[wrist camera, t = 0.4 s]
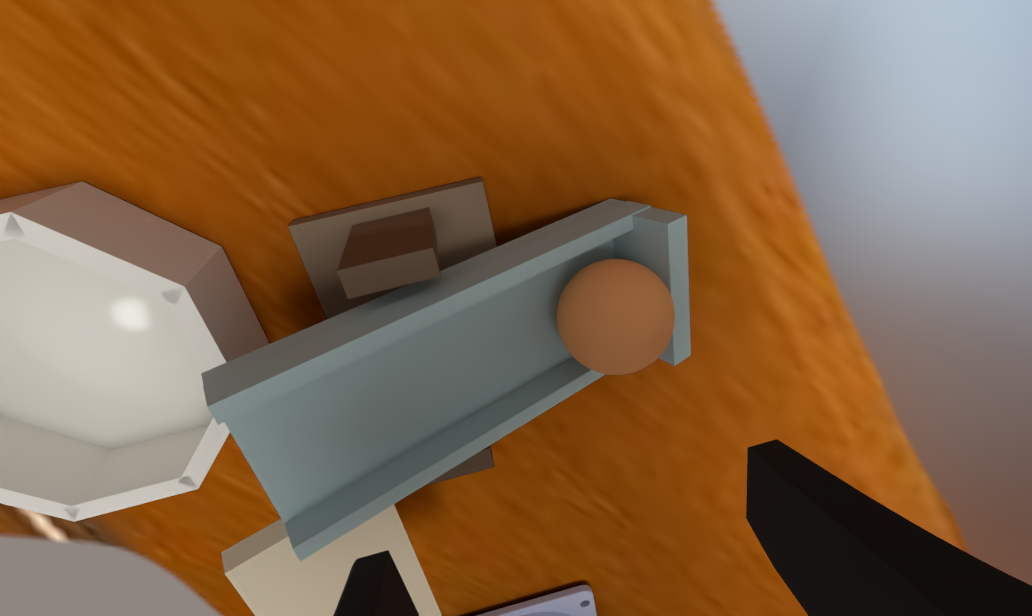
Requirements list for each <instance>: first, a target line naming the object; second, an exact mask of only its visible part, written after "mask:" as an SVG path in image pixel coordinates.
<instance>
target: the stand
mask: <svg viewBox="0 0 1032 616" xmlns="http://www.w3.org/2000/svg"><path fill="white" fill-rule="evenodd" d="M288 227H289V230H290V232H291V235H292V237H293V239H294V242H295V244H296V246H297V249H298V251H299V254H300V256H301V258H302V261H303V263H304V266H305V268H306V270H307V273H308V275H309V278H310V280H311V282H312V285H313V287H314V290H315V292H316V294H317V297H318V299H319V302H320V304H321V306H322V309H323V311H324V314H325V316H326V318H327V319H329V318H332V317H334V316H337V315H339V314H341V313H344V312H346V311H348V310H351V309H353V308H355V307H358V306H360V305H362V304H365V303H367V302H369V301H372V300H374V299H376V298H379V297H381V296H383V295H386V294H388V293H390V292H393V291H395V290H397V289H400V288H402V287H404V286H407V285H409V284H411V283H415V282H419V281H424V280H428V279H432V278H436V277H440V276H441V274H440V271H442V270H444V269H447V268H449V267H451V266H454V265H456V264H458V263H461V262H463V261H465V260H468V259H470V258H472V257H475V256H477V255H479V254H482V253H484V252H486V251H489V250H491V249H493V248H496V247H497V244H496V239H495V235H494V230H493V226H492V221H491V216H490V212H489V207H488V203H487V198H486V193H485V189H484V184H483V181H482V179H481V177H478V178H474V179H469V180H465V181H461V182H456V183H452V184H448V185H443V186H439V187H435V188H430V189H426V190H422V191H417V192H413V193H409V194H405V195H400V196H396V197H392V198H387V199H383V200H379V201H374V202H370V203H366V204H361V205H357V206H353V207H348V208H344V209H340V210H336V211H331V212H327V213H323V214H318V215H314V216H310V217H305V218H301V219H297V220H292V222H291V223H290V225H289V226H288ZM492 467H495V466H494V461H493V456H492V451H491V445H490V446H488V447H486V448H485V449H483V450H481V451H480V452H478V453H476V454H475V455H473V456H472V457H470V458H468V459H467V460H465V461H463V462H462V463H460V464H459V465H457V466H455V467H454V468H452V469H450V470H449V471H447V472H446V473H444V474H442V475H441V476H439V477H437V478H436V479H434V480H432V481H431V482H429V483H428V484H426V485H429V484H433V483H437V482H440V481H444V480H448V479H451V478H455V477H459V476H462V475H466V474H470V473H474V472H477V471H481V470H485V469H488V468H492ZM424 486H425V485H424Z"/></svg>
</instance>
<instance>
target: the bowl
mask: <svg viewBox="0 0 1032 616" xmlns="http://www.w3.org/2000/svg"><path fill="white" fill-rule="evenodd" d="M266 345H269V342H268V339H267V337H266V335H265V333H264V331H263V329H262V327H261V325H260V323H259V321H258V319H257V317H256V315H255V313H254V311H253V309H252V307H251V305H250V303H249V301H248V299H247V297H246V295H245V293H244V291H243V289H242V287H241V285H240V283H239V280H238V278H237V276H236V274H235V272H234V270H233V268H232V266H231V264H230V262H229V260H228V258H227V256H226V254H225V252H224V250H223V248H222V246H219V245H217V244H215V243H213V242H211V241H209V240H207V239H204V238H202V237H200V236H198V235H196V234H194V233H192V232H189V231H187V230H185V229H183V228H181V227H179V226H177V225H175V224H172V223H170V222H168V221H166V220H164V219H162V218H160V217H157V216H155V215H153V214H151V213H149V212H147V211H145V210H143V209H140V208H138V207H136V206H134V205H132V204H130V203H128V202H125V201H123V200H121V199H119V198H117V197H115V196H113V195H111V194H108V193H106V192H104V191H102V190H100V189H98V188H96V187H93V186H91V185H89V184H87V183H85V182H77V183H73V184H68V185H64V186H59V187H55V188H50V189H46V190H41V191H37V192H32V193H28V194H23V195H19V196H14V197H9V198H5V199H0V503H2V504H6V505H10V506H14V507H18V508H22V509H26V510H30V511H34V512H38V513H42V514H46V515H50V516H54V517H58V518H62V519H66V520H71V521H78V520H82V519H86V518H89V517H93V516H97V515H101V514H105V513H108V512H112V511H116V510H120V509H124V508H127V507H131V506H135V505H139V504H143V503H146V502H150V501H154V500H158V499H162V498H165V497H169V496H173V495H177V494H181V493H185V492H188V491H192V490H196V489H198V488H199V487H200V485H201V483H202V481H203V479H204V478H205V476H206V474H207V472H208V471H209V469H210V467H211V465H212V463H213V462H214V460H215V458H216V456H217V454H218V453H219V451H220V449H221V447H222V445H223V444H224V442H225V440H226V438H227V436H228V435H229V433H230V431H229V429H228V427H227V426H226V424H225V422H223V423H221V424H219V425H218V424H217V422H216V421H215V419H214V417H213V416H212V414H211V412H210V411H209V409H208V407H207V403H206V398H205V393H204V388H203V386H204V385H203V380H202V375H201V373H203V372H205V371H208V370H210V369H212V368H215V367H217V366H219V365H222V364H224V363H226V362H229V361H231V360H233V359H236V358H238V357H241V356H243V355H245V354H248V353H250V352H252V351H255V350H257V349H259V348H262V347H264V346H266Z"/></svg>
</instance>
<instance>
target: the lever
mask: <svg viewBox="0 0 1032 616" xmlns="http://www.w3.org/2000/svg"><path fill="white" fill-rule="evenodd" d="M607 259H624V260H630V261H633V262H636V263H639V264H641V265H643V266H645V267H647V268H648V269H650V270H651V271H652V272H654V273H655V274H656V275H657V276H658V277H659V278H660V279H661V280H662V282H663V283H664V284H665V286H666V287H667V289H668V291H669V293H670V295H671V297H672V301H673V305H674V311H675V324H674V329H673V333H672V336H671V339H670V341H669V343H668V345H667V347H666V348H665V350H664V351H663V353H662V354H661V355H660V356H659V357H658V358H660V359H662V360H663V361H665V362H667V363H669V364H671V365H673V366H675V365H677V364H678V363H680V362H681V361H683V360H684V359H686V358H687V357H689V356H691V346H690V311H689V276H688V241H687V215H685V214H681V213H676V212H671V211H667V210H662V209H658V208H653V207H651V205H646V204H641V203H637V202H632V201H621V200H616V199H611V198H610V199H608V200H606V201H603V202H601V203H599V204H596V205H594V206H592V207H589V208H587V209H585V210H582V211H580V212H578V213H575V214H573V215H571V216H568V217H566V218H564V219H561V220H559V221H557V222H554V223H552V224H550V225H547V226H545V227H543V228H540V229H538V230H536V231H533V232H531V233H529V234H526V235H524V236H521V237H519V238H517V239H514V240H512V241H510V242H507V243H505V244H503V245H500V246H498V247H496V248H493V249H491V250H489V251H486V252H484V253H482V254H479V255H477V256H475V257H472V258H470V259H468V260H465V261H463V262H461V263H458V264H456V265H454V266H451V267H449V268H447V269H444V270H442V271H440V274H441V276H440V277H436V278H432V279H428V280H424V281H419V282H415V283H411V284H409V285H407V286H404V287H402V288H400V289H397V290H395V291H393V292H390V293H388V294H386V295H383V296H381V297H379V298H376V299H374V300H372V301H369V302H367V303H365V304H362V305H360V306H358V307H355V308H353V309H351V310H348V311H346V312H344V313H341V314H339V315H337V316H334V317H332V318H329V319H327V320H325V321H322V322H320V323H318V324H315V325H313V326H311V327H308V328H306V329H304V330H301V331H299V332H297V333H294V334H292V335H290V336H287V337H285V338H283V339H280V340H278V341H276V342H273V343H271V344H269V345H266V346H264V347H262V348H259V349H257V350H255V351H252V352H250V353H248V354H245V355H243V356H241V357H238V358H236V359H233V360H231V361H229V362H226V363H224V364H222V365H219V366H217V367H215V368H212V369H210V370H208V371H205V372H203V373H201V375H202V380H203V385H204V386H203V388H204V393H205V398H206V403H207V407H208V409H209V411H210V412H211V414H212V416H213V417H214V419H215V421H216V422H217V424H218V425H219V424H221V423H223V422H225V424H226V426H227V427H228V429H229V431H230V433H231V434H232V436H233V438H234V439H235V441H236V443H237V444H238V446H239V448H240V449H241V451H242V453H243V454H244V456H245V458H246V460H247V461H248V463H249V465H250V466H251V468H252V470H253V471H254V473H255V475H256V476H257V478H258V480H259V481H260V483H261V485H262V487H263V488H264V490H265V492H266V493H267V495H268V497H269V498H270V500H271V502H272V503H273V505H274V507H275V508H276V510H277V512H278V514H279V515H280V517H281V519H279V520H277V521H276V522H274V523H272V524H270V525H269V526H267V527H265V528H263V529H262V530H260V531H258V532H256V533H255V534H253V535H251V536H249V537H248V538H246V539H244V540H242V541H240V542H239V543H237V544H235V545H233V546H232V547H230V548H228V549H226V550H225V551H223V552H221V555H222V560H223V566H224V572H225V575H226V576H227V578H228V579H229V580H230V582H231V583H232V584H233V586H234V587H235V589H236V590H237V591H238V593H239V594H240V595H241V597H242V598H243V600H244V601H245V602H246V604H247V605H248V607H249V608H250V609H251V611H252V612H253V613H254V615H255V616H333V615H334V613H335V610H336V608H337V605H338V602H339V600H340V597H341V595H342V592H343V589H344V587H345V584H346V581H347V579H348V576H349V573H350V571H351V568H352V565H353V563H354V562H355V561H356V559H358V558H362V557H365V556H369V555H372V554H376V553H379V552H383V551H386V550H389V552H390V554H391V557H392V559H393V561H394V563H395V565H396V567H397V569H398V571H399V573H400V575H401V578H402V580H403V582H404V584H405V586H406V588H407V590H408V592H409V594H410V597H411V599H412V601H413V603H414V605H415V607H416V609H417V611H418V613H419V616H442V615H441V612H440V610H439V608H438V605H437V603H436V601H435V598H434V596H433V594H432V591H431V589H430V587H429V584H428V582H427V580H426V578H425V575H424V573H423V571H422V568H421V566H420V564H419V561H418V559H417V557H416V554H415V552H414V550H413V547H412V545H411V543H410V540H409V538H408V536H407V533H406V531H405V529H404V526H403V524H402V522H401V519H400V517H399V515H398V513H397V510H396V508H395V506H394V504H395V503H397V502H398V501H400V500H401V499H403V498H405V497H406V496H408V495H410V494H411V493H413V492H415V491H416V490H418V489H419V488H421V487H423V486H424V485H426V484H428V483H429V482H431V481H432V480H434V479H436V478H437V477H439V476H441V475H442V474H444V473H446V472H447V471H449V470H450V469H452V468H454V467H455V466H457V465H459V464H460V463H462V462H463V461H465V460H467V459H468V458H470V457H472V456H473V455H475V454H476V453H478V452H480V451H481V450H483V449H485V448H486V447H488V446H490V445H491V444H493V443H494V442H496V441H498V440H499V439H501V438H503V437H504V436H506V435H507V434H509V433H511V432H512V431H514V430H516V429H517V428H519V427H521V426H522V425H524V424H525V423H527V422H529V421H530V420H532V419H534V418H535V417H537V416H538V415H540V414H542V413H543V412H545V411H547V410H548V409H550V408H552V407H553V406H555V405H556V404H558V403H560V402H561V401H563V400H565V399H566V398H568V397H569V396H571V395H573V394H574V393H576V392H578V391H579V390H581V389H583V388H584V387H586V386H587V385H589V384H591V383H592V382H594V381H596V380H597V379H599V378H600V377H602V376H604V375H605V374H603V373H599V372H596V371H594V370H591V369H589V368H587V367H585V366H584V365H582V364H581V363H579V362H578V361H577V360H576V359H575V358H574V357H573V356H572V355H571V354H570V353H569V351H568V350H567V349H566V347H565V345H564V344H563V342H562V339H561V337H560V334H559V331H558V326H557V308H558V302H559V299H560V296H561V294H562V292H563V290H564V288H565V286H566V285H567V283H568V282H569V281H570V280H571V278H572V277H573V276H574V275H575V274H577V273H578V272H579V271H580V270H582V269H583V268H584V267H586V266H588V265H590V264H592V263H595V262H598V261H602V260H607Z"/></svg>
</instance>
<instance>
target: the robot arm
mask: <svg viewBox="0 0 1032 616" xmlns="http://www.w3.org/2000/svg"><path fill="white" fill-rule="evenodd" d="M746 518H747V520H748V522H749V524H750V526H751V527H752V529H753V531H754V533H755V535H756V536H757V538H758V540H759V542H760V544H761V545H762V547H763V549H764V551H765V552H766V554H767V556H768V557H769V559H770V561H771V562H772V564H773V566H774V568H775V569H776V571H777V572H778V573H779V575H780V576H781V578H782V579H783V581H784V582H785V583H786V585H787V586H788V588H789V589H790V590H791V592H792V593H793V595H794V596H795V597H796V599H797V600H798V601H799V603H800V604H801V606H802V607H803V608H804V610H805V611H806V613H807V614H808V615H809V616H1032V586H1031V585H1029V584H1027V583H1025V582H1023V581H1021V580H1019V579H1016V578H1014V577H1012V576H1010V575H1008V574H1006V573H1004V572H1002V571H1000V570H998V569H996V568H994V567H993V566H991V565H989V564H987V563H985V562H983V561H981V560H979V559H977V558H975V557H973V556H972V555H970V554H968V553H966V552H964V551H962V550H960V549H959V548H957V547H955V546H953V545H951V544H949V543H948V542H946V541H944V540H942V539H940V538H938V537H936V536H935V535H933V534H931V533H929V532H928V531H926V530H924V529H922V528H921V527H919V526H917V525H915V524H914V523H912V522H910V521H909V520H907V519H905V518H903V517H902V516H900V515H898V514H897V513H895V512H893V511H892V510H890V509H888V508H887V507H885V506H883V505H882V504H880V503H878V502H876V501H875V500H873V499H871V498H870V497H868V496H867V495H865V494H863V493H862V492H860V491H858V490H857V489H855V488H853V487H852V486H850V485H849V484H847V483H845V482H844V481H842V480H841V479H839V478H837V477H836V476H834V475H833V474H831V473H830V472H828V471H826V470H825V469H823V468H822V467H820V466H818V465H817V464H815V463H814V462H812V461H811V460H809V459H807V458H806V457H804V456H803V455H801V454H799V453H798V452H796V451H795V450H793V449H792V448H790V447H788V446H787V445H785V444H784V443H782V442H780V441H779V440H777V439H776V440H773V441H769V442H766V443H762V444H759V445H755V446H752V447H748V464H747V512H746ZM333 616H419V613H418V611H417V609H416V607H415V605H414V603H413V601H412V599H411V597H410V594H409V592H408V590H407V588H406V586H405V584H404V582H403V580H402V578H401V575H400V573H399V571H398V569H397V567H396V565H395V563H394V561H393V559H392V557H391V554H390V552H389V550H386V551H383V552H379V553H376V554H372V555H369V556H365V557H362V558H358V559H356V561H355V562H354V563H353V565H352V568H351V571H350V573H349V576H348V579H347V581H346V584H345V587H344V589H343V592H342V595H341V597H340V600H339V602H338V605H337V608H336V610H335V613H334V615H333ZM476 616H597V613H596V608H595V602H594V597H593V593H592V590H591V588H590V586H588V585H580V586H576V587H573V588H569V589H566V590H563V591H559V592H556V593H552V594H549V595H545V596H542V597H538V598H535V599H531V600H528V601H524V602H521V603H518V604H514V605H511V606H507V607H504V608H500V609H497V610H493V611H490V612H486V613H483V614H479V615H476Z"/></svg>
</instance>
